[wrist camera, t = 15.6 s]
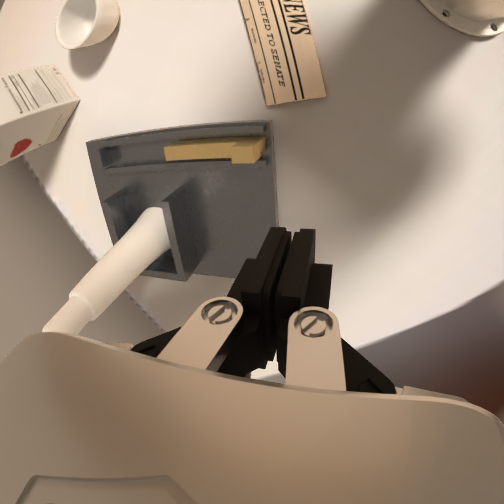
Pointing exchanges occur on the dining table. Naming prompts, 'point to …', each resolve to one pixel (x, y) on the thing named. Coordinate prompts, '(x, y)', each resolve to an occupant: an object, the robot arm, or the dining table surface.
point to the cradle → (189, 196)
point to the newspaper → (284, 50)
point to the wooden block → (218, 149)
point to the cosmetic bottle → (113, 273)
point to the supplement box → (33, 109)
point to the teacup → (85, 22)
